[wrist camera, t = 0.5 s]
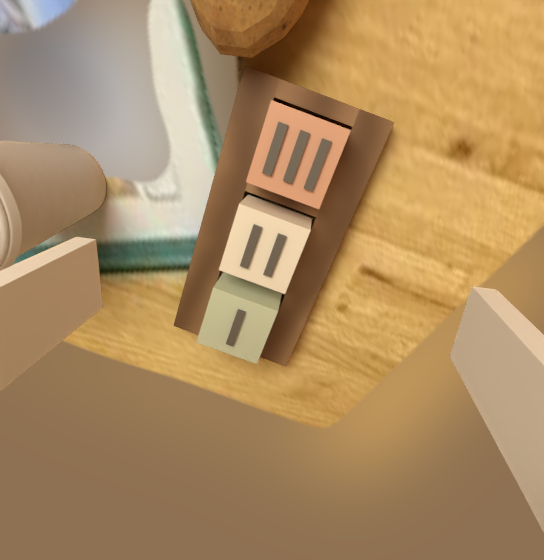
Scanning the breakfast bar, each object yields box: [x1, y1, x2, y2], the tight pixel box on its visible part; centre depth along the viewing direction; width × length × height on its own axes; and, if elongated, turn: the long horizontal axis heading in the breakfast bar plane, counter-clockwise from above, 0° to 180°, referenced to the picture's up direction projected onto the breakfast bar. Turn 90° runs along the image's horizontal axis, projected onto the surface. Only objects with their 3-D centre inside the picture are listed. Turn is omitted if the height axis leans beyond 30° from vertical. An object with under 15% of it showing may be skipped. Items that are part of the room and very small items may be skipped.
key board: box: [174, 66, 394, 366], centre depth 34 cm, size 12×24×2 cm, turn 161°
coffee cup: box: [0, 141, 106, 271], centre depth 28 cm, size 10×10×15 cm
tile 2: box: [219, 195, 312, 294], centre depth 31 cm, size 6×6×4 cm
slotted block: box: [197, 272, 282, 364], centre depth 34 cm, size 6×6×4 cm
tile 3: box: [246, 100, 351, 209], centre depth 28 cm, size 6×6×4 cm
